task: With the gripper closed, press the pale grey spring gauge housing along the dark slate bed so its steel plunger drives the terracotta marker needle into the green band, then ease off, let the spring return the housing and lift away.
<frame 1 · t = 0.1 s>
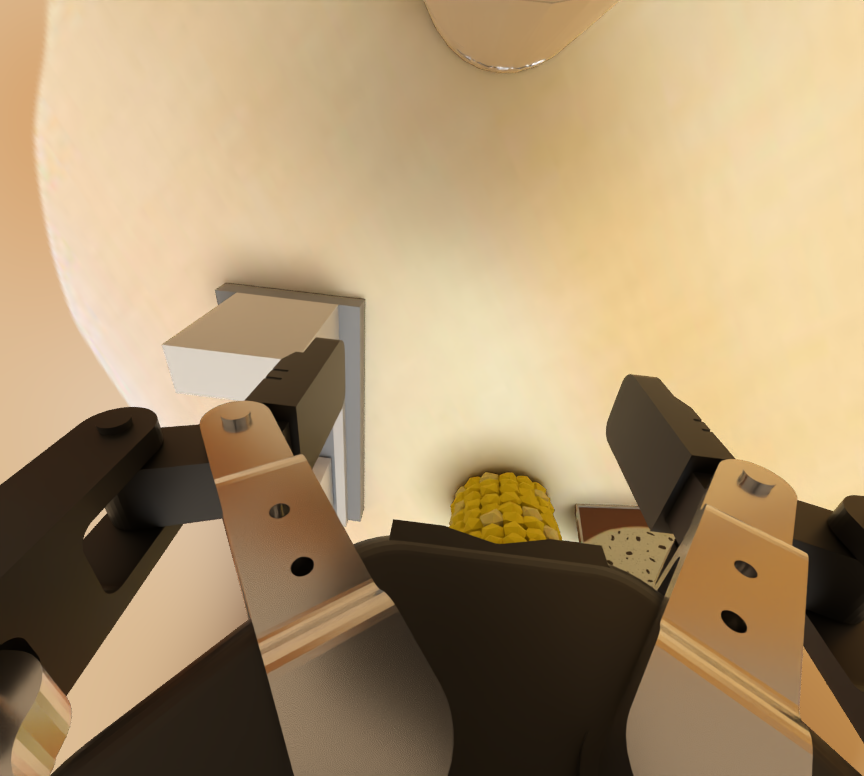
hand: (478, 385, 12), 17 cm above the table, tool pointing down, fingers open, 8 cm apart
food: (500, 496, 39), on the table
chocolate cake half: (619, 526, 39), on the table
gauge housing: (292, 489, 34), point 4 cm above the table, slide at 0.0 cm
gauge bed: (306, 415, 35), on the table
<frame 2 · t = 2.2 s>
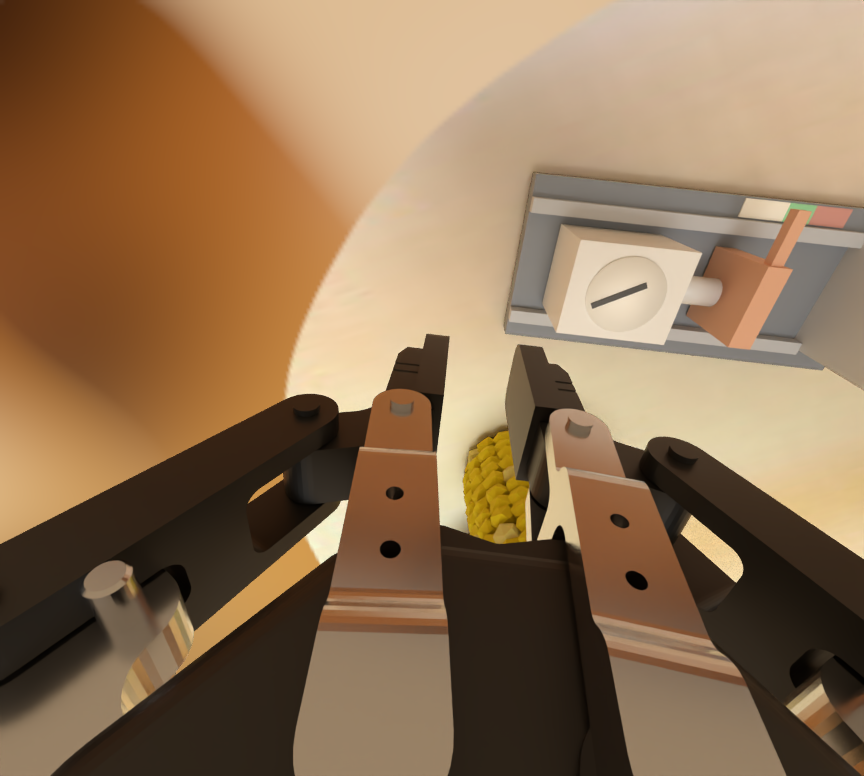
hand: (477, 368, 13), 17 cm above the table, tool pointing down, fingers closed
marker needle: (742, 273, 23), point 4 cm above the table, slide at 0.0 cm
food: (521, 464, 37), on the table
gauge housing: (637, 285, 23), point 4 cm above the table, slide at 0.0 cm
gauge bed: (681, 274, 27), on the table
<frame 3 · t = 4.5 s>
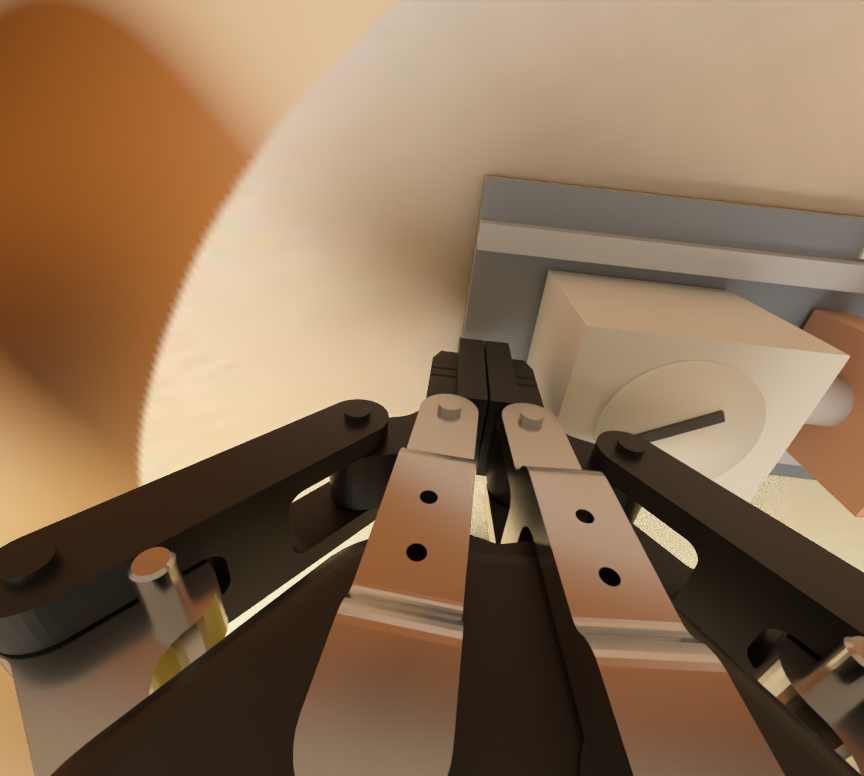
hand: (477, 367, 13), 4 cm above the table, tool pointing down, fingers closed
gauge housing: (689, 389, 13), point 4 cm above the table, slide at 0.5 cm, touching gripper, marker needle
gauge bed: (739, 346, 16), on the table
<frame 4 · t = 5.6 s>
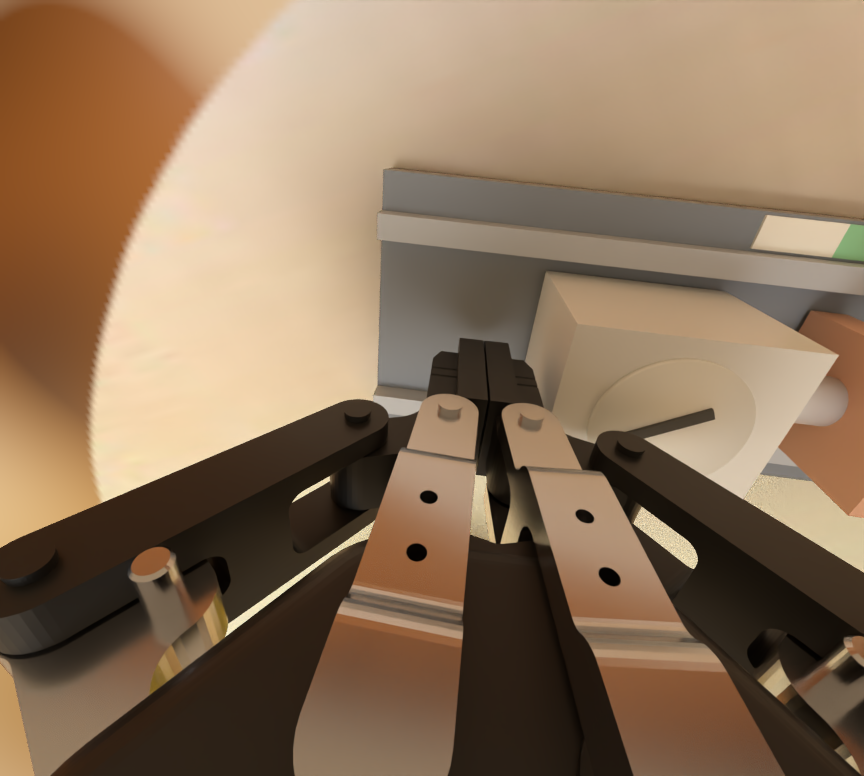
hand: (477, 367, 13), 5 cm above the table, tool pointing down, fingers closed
gauge housing: (684, 388, 13), point 4 cm above the table, slide at 3.7 cm, touching gripper, marker needle
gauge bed: (656, 337, 16), on the table
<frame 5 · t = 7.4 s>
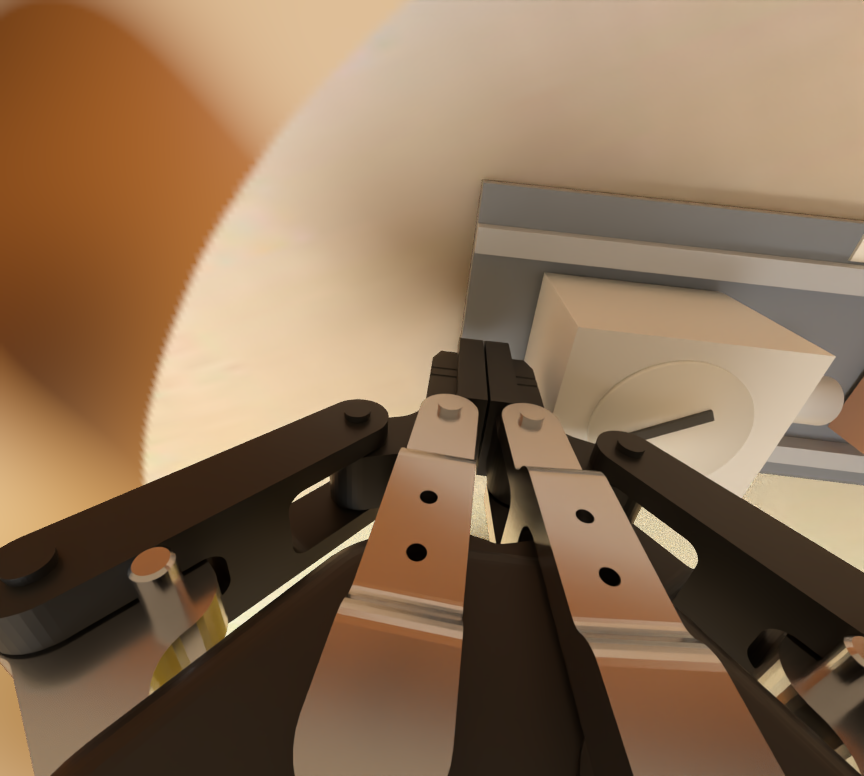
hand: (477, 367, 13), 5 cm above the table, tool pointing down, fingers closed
gauge housing: (682, 389, 13), point 4 cm above the table, slide at 0.5 cm
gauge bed: (734, 346, 16), on the table
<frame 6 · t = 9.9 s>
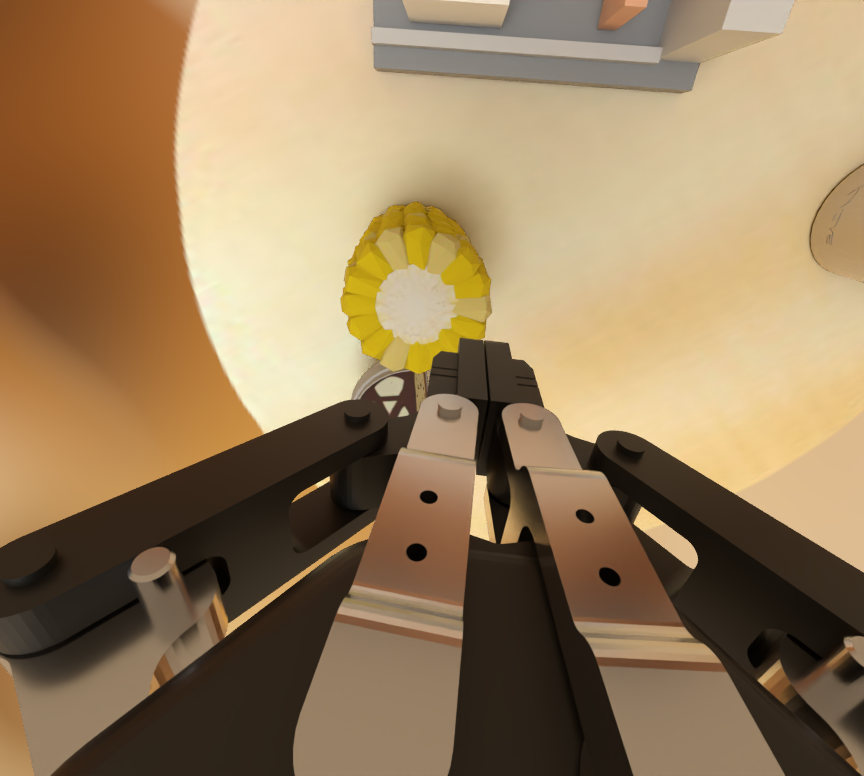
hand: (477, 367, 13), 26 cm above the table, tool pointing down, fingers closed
food: (422, 257, 36), on the table
chocolate cake half: (397, 373, 43), on the table
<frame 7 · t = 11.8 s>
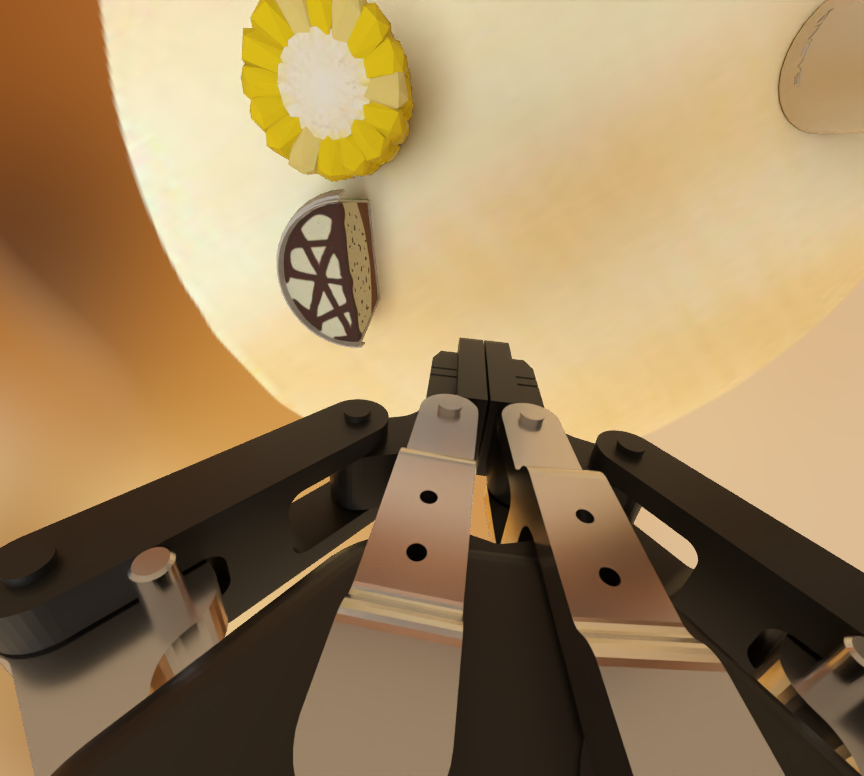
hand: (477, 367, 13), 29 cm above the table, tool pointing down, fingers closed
food: (365, 108, 34), on the table
chocolate cake half: (344, 252, 40), on the table
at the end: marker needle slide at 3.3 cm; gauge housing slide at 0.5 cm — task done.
